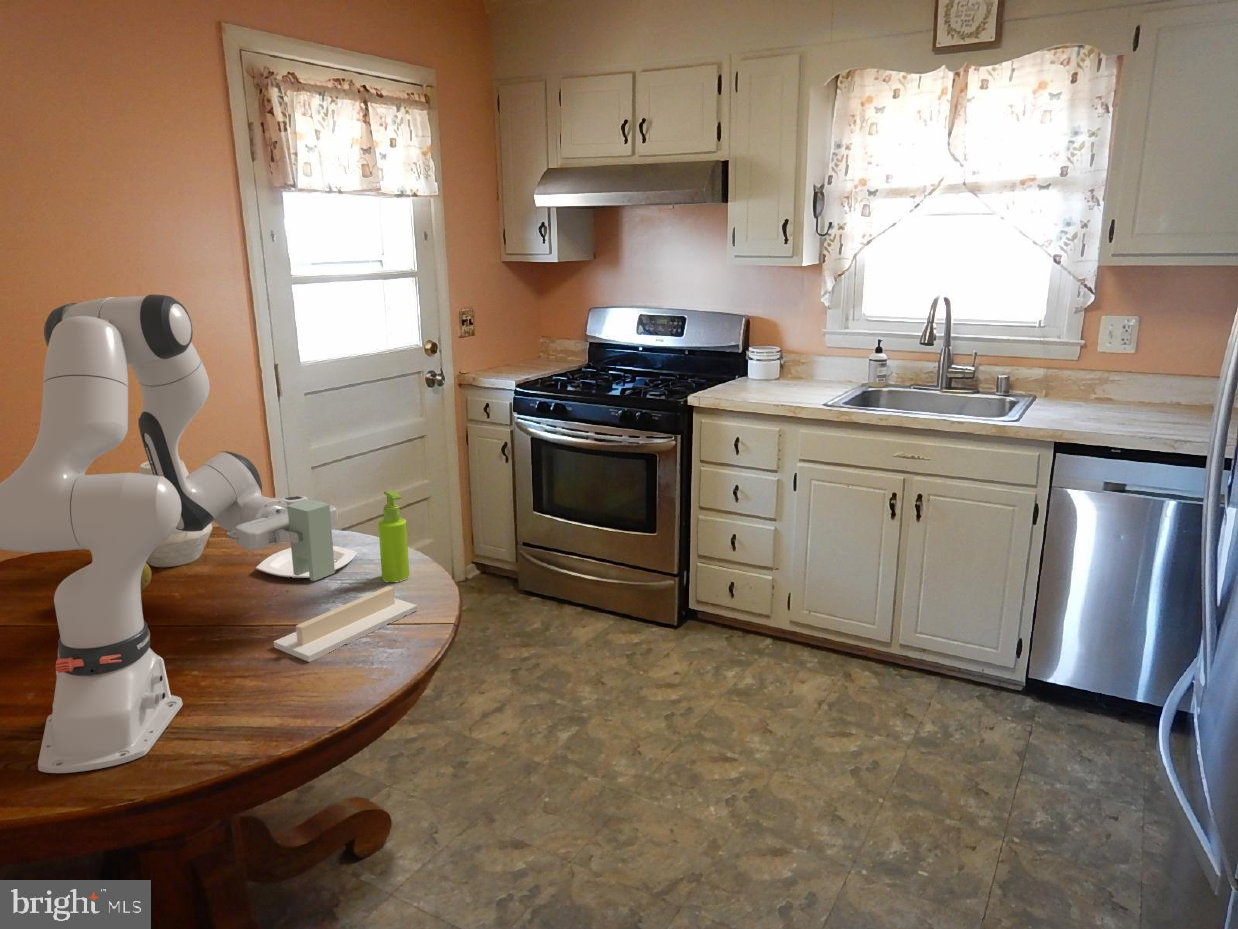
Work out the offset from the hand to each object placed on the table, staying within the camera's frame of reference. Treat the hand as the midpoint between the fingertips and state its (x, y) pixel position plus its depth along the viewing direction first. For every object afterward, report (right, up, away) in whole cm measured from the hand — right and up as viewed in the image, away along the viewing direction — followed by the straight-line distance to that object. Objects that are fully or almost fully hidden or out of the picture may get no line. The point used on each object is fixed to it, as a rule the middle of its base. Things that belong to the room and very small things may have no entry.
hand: (313, 533), depth 164 cm
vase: (-45, -9, +35) cm, 57 cm away
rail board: (+7, -18, 0) cm, 20 cm away
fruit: (-44, -15, +12) cm, 48 cm away
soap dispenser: (+10, -12, +25) cm, 29 cm away
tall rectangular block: (-1, -8, +3) cm, 9 cm away
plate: (-12, -11, +31) cm, 35 cm away
